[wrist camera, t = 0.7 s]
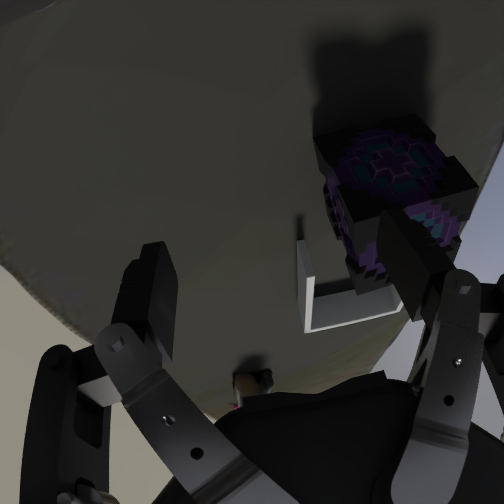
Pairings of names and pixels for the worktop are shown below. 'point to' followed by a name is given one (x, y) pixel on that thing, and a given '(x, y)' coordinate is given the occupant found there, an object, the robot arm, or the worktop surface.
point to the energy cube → (391, 190)
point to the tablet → (252, 385)
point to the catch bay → (338, 300)
